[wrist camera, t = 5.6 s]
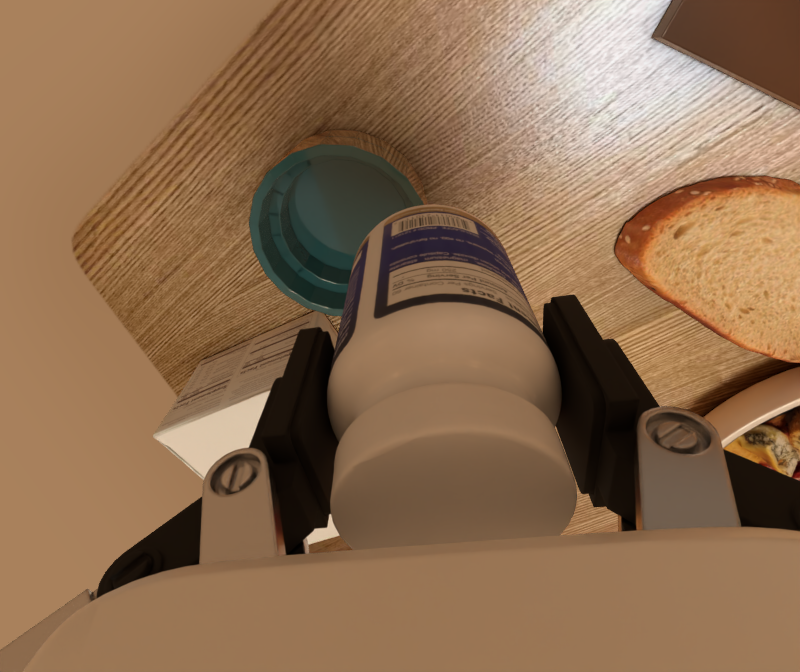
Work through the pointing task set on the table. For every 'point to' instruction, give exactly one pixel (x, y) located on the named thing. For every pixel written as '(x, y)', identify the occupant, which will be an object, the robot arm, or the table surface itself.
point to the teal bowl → (327, 212)
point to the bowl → (764, 423)
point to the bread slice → (725, 259)
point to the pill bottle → (443, 393)
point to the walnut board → (740, 40)
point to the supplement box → (233, 400)
